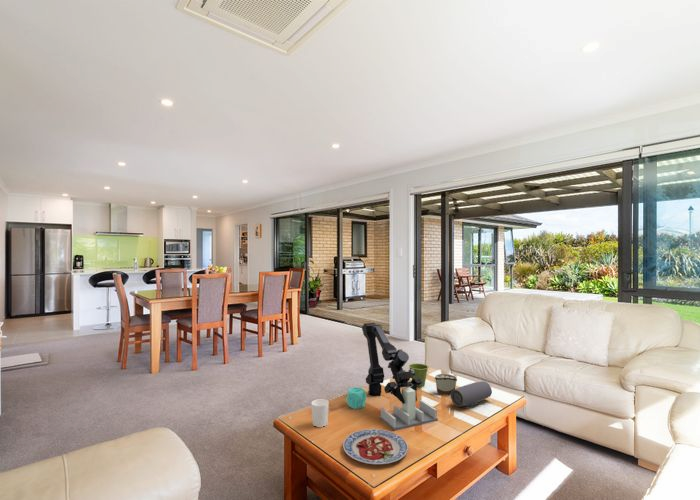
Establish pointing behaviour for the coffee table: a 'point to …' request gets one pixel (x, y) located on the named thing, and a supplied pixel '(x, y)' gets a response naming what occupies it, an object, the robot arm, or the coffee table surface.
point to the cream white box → (409, 402)
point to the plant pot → (419, 372)
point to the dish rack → (403, 419)
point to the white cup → (320, 412)
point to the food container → (445, 384)
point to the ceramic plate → (375, 446)
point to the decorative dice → (356, 398)
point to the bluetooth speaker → (471, 394)
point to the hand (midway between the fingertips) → (410, 402)
